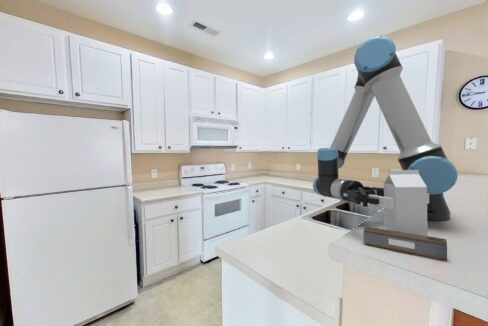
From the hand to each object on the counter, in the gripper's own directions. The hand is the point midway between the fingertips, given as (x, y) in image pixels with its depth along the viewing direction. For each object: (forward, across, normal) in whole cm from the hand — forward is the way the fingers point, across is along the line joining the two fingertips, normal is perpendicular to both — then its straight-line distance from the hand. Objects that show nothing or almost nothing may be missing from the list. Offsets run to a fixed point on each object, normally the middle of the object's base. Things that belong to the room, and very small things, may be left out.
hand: (411, 201), depth 57 cm
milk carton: (-2, 0, -11) cm, 11 cm away
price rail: (+2, +6, -11) cm, 13 cm away
